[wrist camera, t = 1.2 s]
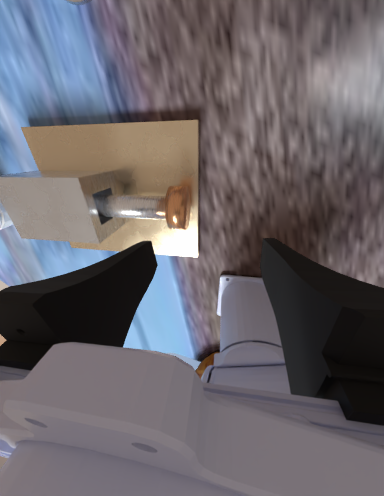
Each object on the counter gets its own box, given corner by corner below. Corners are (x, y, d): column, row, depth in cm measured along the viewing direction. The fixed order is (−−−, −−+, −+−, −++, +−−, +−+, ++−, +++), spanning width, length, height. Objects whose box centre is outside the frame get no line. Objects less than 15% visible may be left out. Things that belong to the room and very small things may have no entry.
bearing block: (199, 121, 16) (187, 108, 10) (198, 253, 23) (191, 283, 17) (30, 128, 18) (-46, 120, 13) (76, 244, 25) (39, 268, 20)
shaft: (190, 182, 17) (181, 191, 13) (190, 221, 19) (183, 237, 15) (86, 181, 18) (55, 188, 15) (97, 216, 20) (72, 230, 17)
